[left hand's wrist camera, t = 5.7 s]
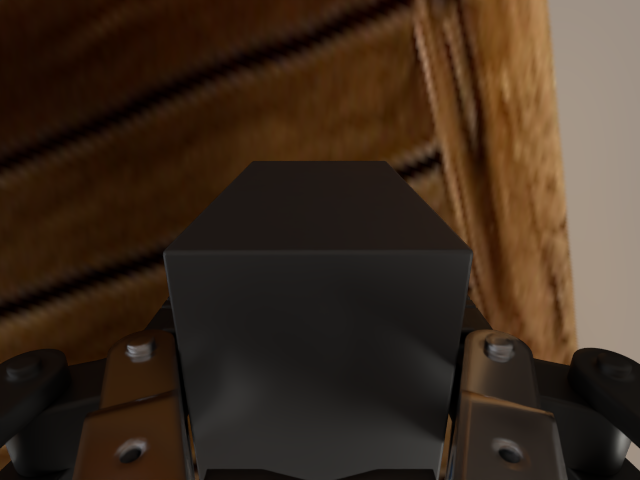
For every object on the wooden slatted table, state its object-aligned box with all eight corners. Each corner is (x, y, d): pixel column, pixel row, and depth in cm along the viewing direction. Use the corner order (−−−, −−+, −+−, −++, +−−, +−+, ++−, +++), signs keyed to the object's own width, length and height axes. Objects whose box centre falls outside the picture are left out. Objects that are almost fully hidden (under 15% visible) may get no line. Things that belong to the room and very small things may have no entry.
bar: (251, 160, 15) (160, 251, 7) (386, 160, 15) (476, 251, 7) (276, 535, 24) (250, 799, 15) (363, 535, 24) (389, 799, 15)
